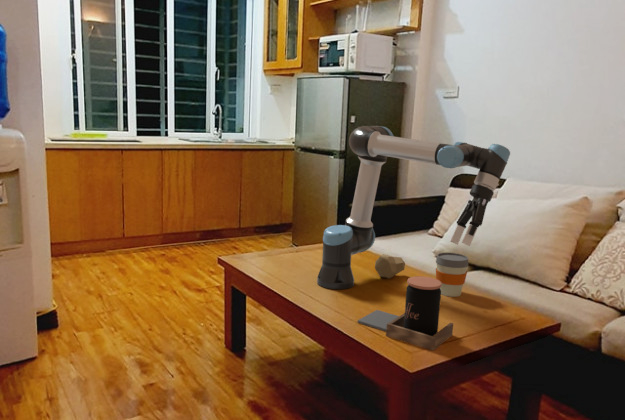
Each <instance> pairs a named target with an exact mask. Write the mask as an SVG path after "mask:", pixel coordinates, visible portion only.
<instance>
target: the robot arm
mask: <svg viewBox="0 0 625 420" xmlns="http://www.w3.org/2000/svg"><path fill="white" fill-rule="evenodd" d="M348 144H349V148H350V149H351V151H352V152H353V154H355V155H357V158H358V159H359V161H360V165H359V170H358V175H357V178H356V179H357V180H356V185H355V190H354V194H353V195H354V196H353V200H352V206H351V211H350V215H349V217H347V218H346V219H345V224H337V225H329V227H326V228H325V229H324V231H323V236H322V257H321V258H322V263H321V266H320V267H321V268H320V269H319V271H318V275H317V279H316V283H317V285H318V286H320V287H322V288H325V289H330V290H346V289H351V288H352V287H354V285H355V278H354V274H353V270H352V267H351V265H352V256H353V255H356V254H361V253H364V252H366V251H368V250H369V249H370V248H372V247H373V245H374V243H375V241H376V233H375V230H374V228H373V227H374V223H373V222H372V221H371V219H372V216H373V215H372V214H373V208H374V205H375V199H376V195H377V191H378V190H377V189H378V184H379V180H380V176H381V175H380V174H381V171H382V166H383V165H384V164H386V163H387V159H388V157H390V158H394V159H395V158H396V159H401V160H407V161H412V162H413V161H414V162H418V163H426V164H431V165H435V166H436V165H437V166H441V167H443V168H446V169H455V168H460V167H466V166H467V167H471V168H475V169H476V170H477V169H478V172H477V174H476V177H475V179H474V180H473V183H474V184H473V185H472V186H471V189H470V191H469V195H470V196H471V197H473V198H472V200H471V199H469V200H468V202H467V203H466V206H465V207H464V209H463V211H462V212H461V214H460V215H459V218H458V219H457V221H456V228H455V230H454V232H453V235H452V237H451V239H450V242H451V243H453V244H455V245H457V246H458V245H459V242H460V240H461V239H462V236H463V233H464V231H465V229H466V232H465V234H464V237H463V239H462V241H461V243H462V244H464V245H467V246H469V247H470V246H471V244H472V242H473V240H474V237H475V234H476V232H477V230H478V228H479V227H482V225H483V222H484V221H483V220H484V218H485V214H486V209H487V205H488V203H489V202H491V200H492V198H493V196H494V191H496V189H497V187H498V186H500V184H499V181H500V180H501V177H502V175H503V173H504V171H505V168H506V166H507V164H508V161H509V158H510V156H511V151H510V149H509V148H508V147H506V146H505V145H501V144H498V143H492V144H490V145H489V147H488V148H485V147H481V146H478V145H473V144H470V143H467V142H462V141H455V143H454V144H449V143H441V142H434V141H427V140H419V139H413V138H407V137H406V138H405V137H400V136H394V134H393V133H392V131H391V129H389V128H388V127H386V126H381V125H362V126H357V128H355V129H354V130H353V131H352V132H351V133H350V135H349V139H348ZM470 219H471V221H470ZM468 222H469V223H468ZM467 224H469V225H468V228H467Z"/></svg>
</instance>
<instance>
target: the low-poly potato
mask: <svg viewBox="0 0 625 420" xmlns="http://www.w3.org/2000/svg"><path fill="white" fill-rule="evenodd" d="M405 267H406V263H405V261H404V259H403V258H402V257H399V256H398V257H397V256H391V255H388V254H382V255H380V256H379V257H378V258H377V259H376V260H375V263H374V269H375V271H376V273H377V275H378V276H379V277H380V278H384V279H388V280H389V279H391V278H393V277H394V276H396V275H397V274H399V273H401V272H402V271H404V270H405Z"/></svg>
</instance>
